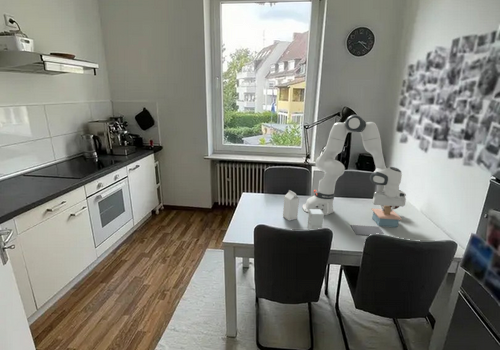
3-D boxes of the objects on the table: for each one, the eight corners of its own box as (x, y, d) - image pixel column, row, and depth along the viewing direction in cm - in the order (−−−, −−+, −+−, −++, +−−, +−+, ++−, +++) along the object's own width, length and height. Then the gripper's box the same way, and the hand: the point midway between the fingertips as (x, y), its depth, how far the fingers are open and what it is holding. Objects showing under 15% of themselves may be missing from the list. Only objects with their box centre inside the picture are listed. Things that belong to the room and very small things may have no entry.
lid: (379, 218, 180) (381, 210, 178) (371, 209, 193) (373, 201, 192) (401, 219, 179) (403, 211, 178) (392, 210, 193) (393, 203, 191)
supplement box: (318, 227, 178) (320, 209, 174) (321, 232, 171) (324, 214, 167) (307, 226, 178) (309, 208, 174) (309, 232, 170) (311, 213, 167)
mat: (356, 234, 170) (356, 233, 170) (350, 225, 182) (350, 224, 181) (385, 236, 169) (386, 235, 169) (378, 227, 181) (378, 226, 181)
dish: (378, 226, 183) (380, 217, 181) (372, 217, 194) (373, 210, 192) (397, 227, 182) (399, 219, 180) (389, 219, 194) (391, 211, 192)
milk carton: (288, 220, 185) (291, 194, 179) (282, 216, 190) (284, 190, 185) (297, 219, 188) (300, 192, 182) (291, 214, 194) (293, 189, 188)
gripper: (376, 192, 179) (372, 212, 183) (408, 194, 178) (404, 214, 182) (372, 189, 185) (369, 208, 189) (404, 191, 184) (399, 210, 188)
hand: (386, 211), depth 186 cm, fingers closed on lid, 3 cm apart
